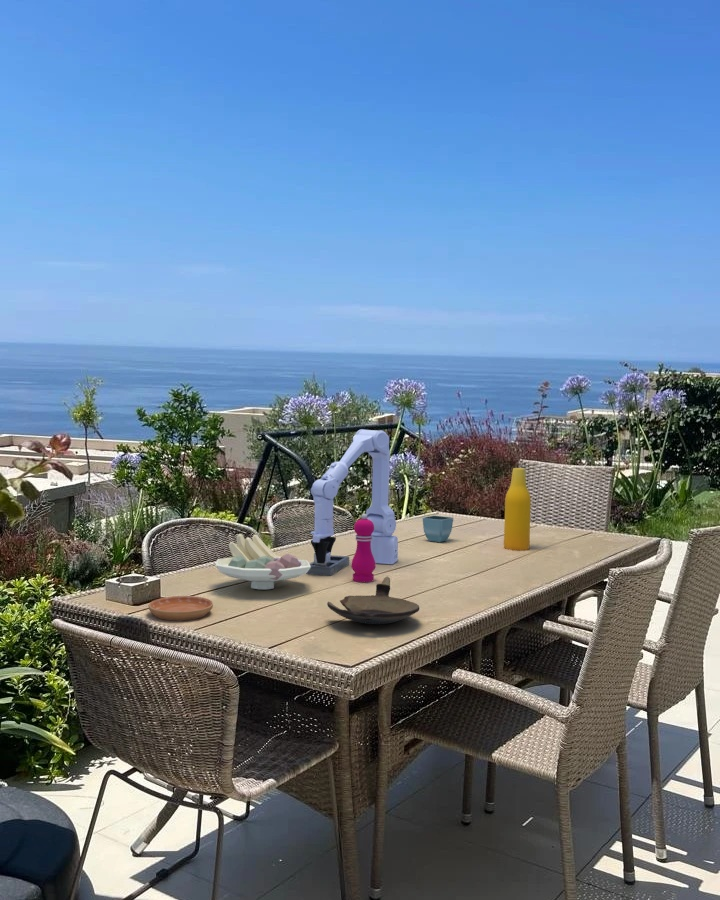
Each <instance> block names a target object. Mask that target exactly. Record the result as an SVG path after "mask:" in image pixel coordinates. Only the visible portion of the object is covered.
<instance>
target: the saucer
mask: <svg viewBox="0 0 720 900" xmlns="http://www.w3.org/2000/svg"><path fill="white" fill-rule="evenodd" d="M213 607H214V603H213V601H212V600H211V599H209V598H206V597H201V596H195V595H194V596H192V595H176V596H175V595H173V596H167V597H161V598H158V599H154V600H152V601H151V602H149V603H148V611H150V612H151V614H152V615H154V616H155V617H156V618H158V619H161V620H165V621H190V620H191V621H192V620H196V619H200V618H203V617H206V615H207V614H208V613H210V612H211V610H212V609H213Z"/></svg>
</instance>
